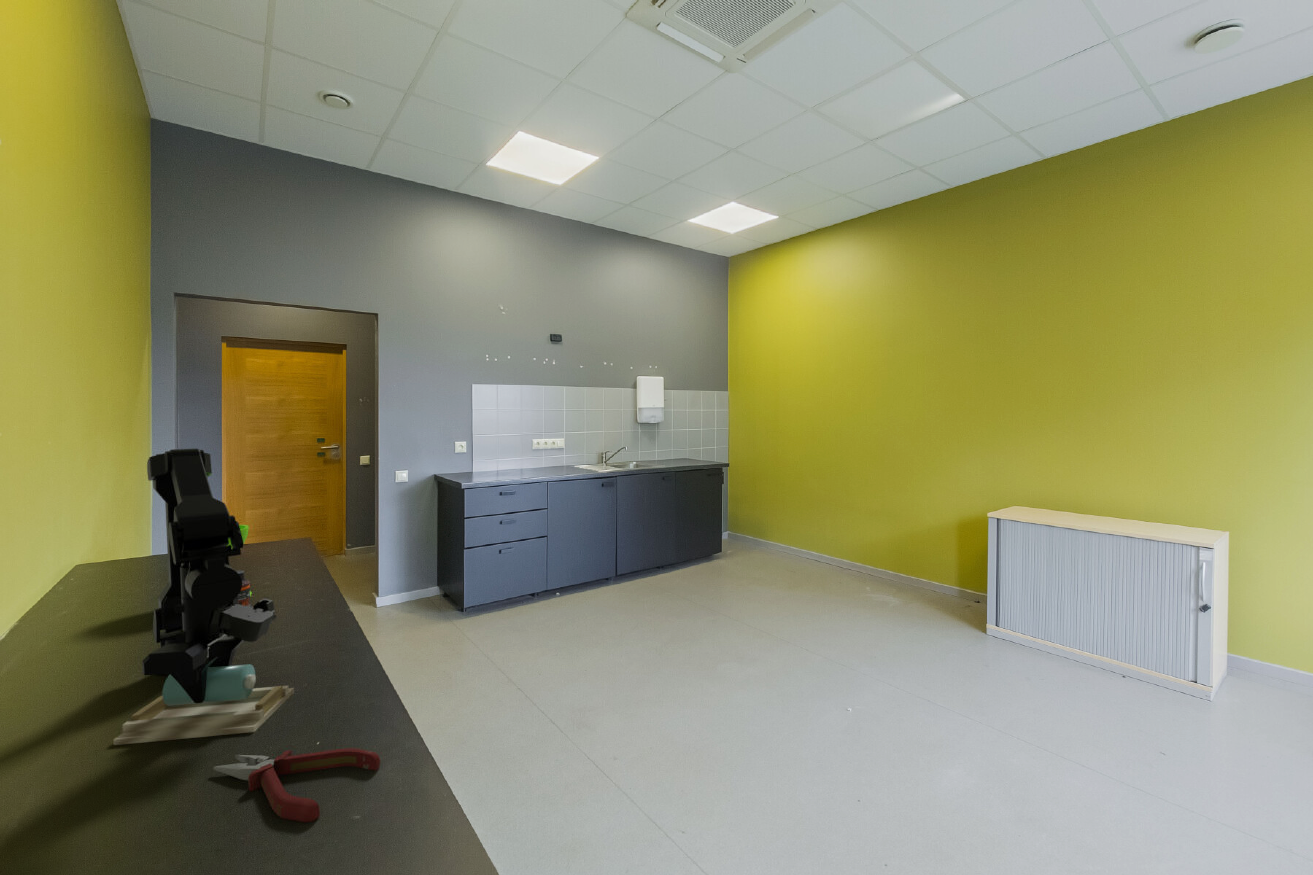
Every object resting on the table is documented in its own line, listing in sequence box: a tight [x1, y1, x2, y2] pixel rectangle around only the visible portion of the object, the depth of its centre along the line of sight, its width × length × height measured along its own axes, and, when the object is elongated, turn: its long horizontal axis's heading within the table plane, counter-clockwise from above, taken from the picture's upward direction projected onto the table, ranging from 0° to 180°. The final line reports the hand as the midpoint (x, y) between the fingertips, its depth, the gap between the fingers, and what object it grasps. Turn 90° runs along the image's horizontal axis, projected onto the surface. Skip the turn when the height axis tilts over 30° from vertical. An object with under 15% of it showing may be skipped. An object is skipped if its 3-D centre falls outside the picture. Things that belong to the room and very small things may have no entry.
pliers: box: [212, 747, 381, 823], centre depth 71 cm, size 12×20×3 cm, turn 74°
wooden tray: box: [113, 685, 295, 746], centre depth 87 cm, size 18×12×3 cm, turn 99°
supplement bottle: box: [235, 570, 251, 606], centre depth 129 cm, size 6×6×11 cm
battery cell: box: [161, 663, 257, 706], centre depth 87 cm, size 11×5×5 cm, turn 99°
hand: (210, 694), depth 87 cm, fingers closed on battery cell, 5 cm apart
